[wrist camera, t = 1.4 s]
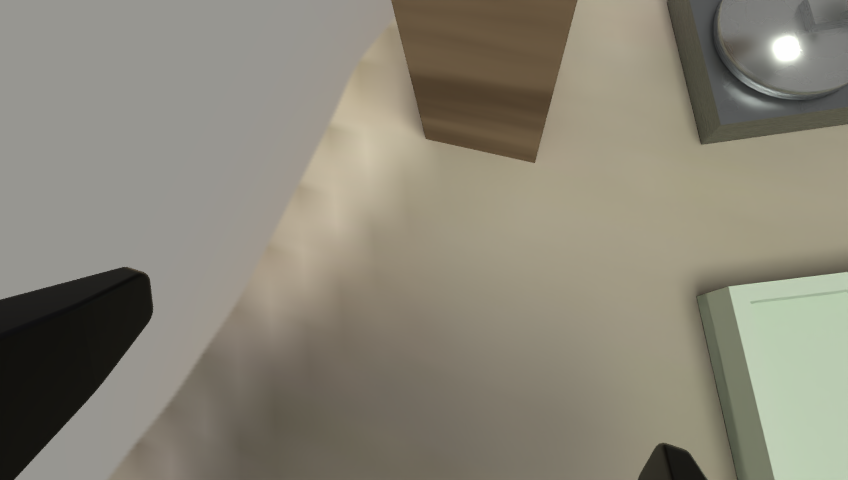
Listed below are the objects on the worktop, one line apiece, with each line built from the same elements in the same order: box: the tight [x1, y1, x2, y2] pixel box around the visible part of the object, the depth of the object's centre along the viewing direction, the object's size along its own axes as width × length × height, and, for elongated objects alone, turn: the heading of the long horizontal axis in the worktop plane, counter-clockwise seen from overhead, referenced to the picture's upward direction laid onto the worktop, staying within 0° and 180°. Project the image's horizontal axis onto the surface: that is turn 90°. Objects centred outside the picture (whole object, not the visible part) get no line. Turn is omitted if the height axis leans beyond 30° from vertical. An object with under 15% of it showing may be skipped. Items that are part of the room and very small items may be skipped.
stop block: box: [391, 0, 577, 163], centre depth 19 cm, size 5×5×13 cm
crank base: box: [667, 0, 848, 144], centre depth 23 cm, size 7×7×2 cm
